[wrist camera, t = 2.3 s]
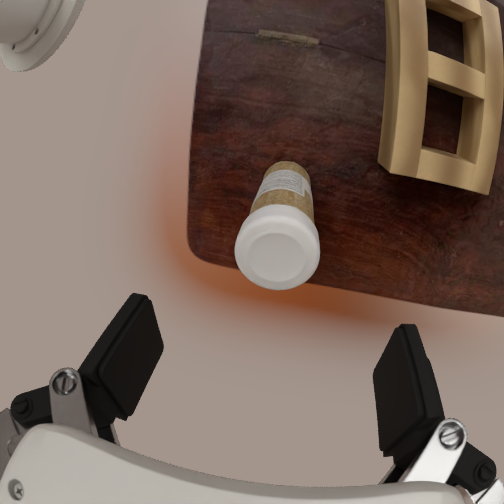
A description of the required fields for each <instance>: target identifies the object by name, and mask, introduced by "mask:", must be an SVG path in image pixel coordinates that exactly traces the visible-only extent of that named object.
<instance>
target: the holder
mask: <svg viewBox="0 0 504 504" xmlns="http://www.w3.org/2000/svg"><path fill="white" fill-rule="evenodd" d="M426 8H429V9H431V10H434V11H436V12H439V13H441V14H444V15H446V16H448V17H451V18H453V19H455V20H457V21H460V22H462V28H463V44H464V64H462V63H460V62H457V61H455V60H452V59H450V58H447V57H445V56H442V55H440V54H437V53H434V52H431V51H428V30H427V15H426ZM385 17H386V75H385V94H384V108H383V119H382V129H381V138H380V147H379V154H378V161H377V162H378V163H379V164H380V165H382V166H383V167H384V168H385V169H386V170H387V171H388V172H390V173H393V174H398V175H404V176H409V177H414V178H419V179H424V180H428V181H433V182H437V183H442V184H446V185H450V186H454V187H458V188H462V189H466V190H471V191H474V192H478V193H481V194H485V195H488V194H489V190H490V186H491V181H492V177H493V172H494V167H495V162H496V157H497V151H498V144H499V137H500V130H501V120H502V109H503V88H504V66H503V46H502V35H501V27H500V19H499V13H498V8H497V7H496V6H494V5H492V4H491V3H489V2H487V1H486V0H385ZM427 84H428V85H431V86H434V87H437V88H440V89H443V90H446V91H448V92H451V93H454V94H456V95H459V96H462V97H463V103H462V115H461V124H460V132H459V140H458V146H457V153H456V155H455V154H452V153H449V152H445V151H441V150H438V149H434V148H430V147H426V146H422V137H423V130H424V121H425V111H426V99H427Z"/></svg>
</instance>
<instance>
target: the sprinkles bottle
mask: <svg viewBox="0 0 504 504" xmlns="http://www.w3.org/2000/svg"><path fill="white" fill-rule="evenodd" d="M310 187H311V183H310V178H309V175H308V174H307V172H306V170H304V168H303V167H301V166H300V165H298V164H296V163H295V162H289V161H282V162H278V163H275V164H274V165H272V166H271V167H270V168H269V169H268V170H267V171H266V173H265V175H264V178H263V182H262V184H261V186H260V188H259V191H258V193H257V195H256V198H255V200H254V202H253V205H252V207H251V212H250V215H249V216H248V217H247V218H246V220H245V221H244V223H243V224H242V227H241V229H240V231H239V234H238V237H237V240H236V243H235V259H236V262H237V265H238V267H239V269H240V270H241V272H242V273H243V274H244V275H245V276H246V277H247V278H248V279H249V280H250V281H252V282H253V283H255V284H256V285H259V286H261V287H264V288H267V289H272V290H286V289H291V288H294V287H297V286H299V285H301V284H303V283H304V282H306V281H307V280H308V279H309V278H310V277H311V276H312V275H313V273H314V272H315V270H316V268H317V266H318V263H319V259H320V244H319V237H318V232H317V229H316V227H315V225H314V217H313V201H312V193H311V188H310Z"/></svg>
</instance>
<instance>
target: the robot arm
mask: <svg viewBox="0 0 504 504" xmlns="http://www.w3.org/2000/svg"><path fill="white" fill-rule="evenodd" d="M60 3H61V0H0V44H1V43H5V44H6V47H7V49H8V50H9V51H10V52H13V53H19V52H24V51H26V50H28V49H29V48H31V47H32V46H33V45H34V44H36V43H37V41H38V40H39V39H40V38H41V37H42V36H43V34H44V33H45V32H46V30H47V29H48V27H49V26H50V24H51V22H52V21H53V19H54V17H55V15H56V13H57V11H58V8H59V6H60ZM163 348H164V345H163V341H162V337H161V334H160V330H159V327H158V323H157V320H156V316H155V312H154V308H153V305H152V301H151V300H149V299H148V297H147V296H146V295H142V294H137V293H132V294H131V295H130V297H129V298H128V299H127V301H126V302H125V303H124V305H123V306H122V307H121V309H120V310H119V311H118V313H117V314H116V316H115V317H114V318H113V320H112V321H111V322H110V324H109V325H108V326H107V328H106V330H105V331H104V332H103V334H102V335H101V336H100V338H99V339H98V341H97V342H96V344H95V345H94V347H93V348H92V350H91V351H90V352H89V354H88V355H87V357H86V359H85V360H84V362H83V363H82V364H81V366H80V368H79V369H78V371H76V370H75V369H73V368H62V369H60V370H58V371H56V372H55V373H54V374H53V376H52V377H51V379H50V382H49V385H48V386H45V387H41V388H38V389H35V390H32V391H29V392H25V393H22V394H20V395H18V396H16V397H15V398H14V400H13V401H12V404H11V409H10V410H9V409H8V408H6V409H5V410H3V411H2V412H0V504H504V485H503V483H502V482H501V480H500V479H499V478H498V479H496V478H495V477H496V465H495V463H494V461H493V460H491V459H490V458H489V457H488V456H486V455H485V454H483V453H482V452H481V451H479V450H478V449H476V448H475V447H473V446H472V445H471V444H469V443H468V442H467V431H466V428H465V426H464V425H463V423H461V422H460V421H459V420H456V419H454V418H448V419H445V416H444V411H443V407H442V403H441V399H440V395H439V391H438V387H437V383H436V380H435V377H434V373H433V369H432V366H431V363H430V361H429V359H428V358H427V356H426V353H425V350H424V347H423V344H422V341H421V338H420V335H419V332H418V329H417V327H416V325H415V324H401V325H400V326H399V327H398V328H395V330H394V332H393V334H392V336H391V338H390V340H389V342H388V344H387V346H386V348H385V350H384V352H383V354H382V356H381V358H380V360H379V362H378V363H377V365H376V367H375V369H374V372H373V384H374V392H375V400H376V410H377V421H378V434H379V448H380V450H381V451H383V456H384V457H389V456H393V458H394V459H393V460H394V464H393V466H392V467H391V468H390V470H389V471H388V472H387V474H386V475H385V476H384V478H383V479H382V480H381V481H380V482H379V484H378V485H367V486H351V487H350V486H348V487H299V486H284V485H273V484H263V483H255V482H248V481H241V480H235V479H230V478H224V477H219V476H215V475H210V474H205V473H201V472H197V471H193V470H189V469H185V468H181V467H178V466H175V465H171V464H168V463H165V462H162V461H159V460H156V459H153V458H150V457H147V456H144V455H141V454H138V453H136V452H133V451H130V450H128V449H125V448H123V447H121V446H120V443H119V440H118V437H117V434H116V431H115V428H114V425H113V422H114V420H115V418H116V417H117V418H119V419H122V420H124V421H126V420H127V418H128V416H131V415H132V414H133V413H134V411H135V409H136V406H137V404H138V402H139V400H140V398H141V396H142V394H143V392H144V389H145V387H146V385H147V383H148V381H149V379H150V377H151V375H152V373H153V371H154V369H155V367H156V364H157V363H158V361H159V359H160V357H161V355H162V352H163Z"/></svg>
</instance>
